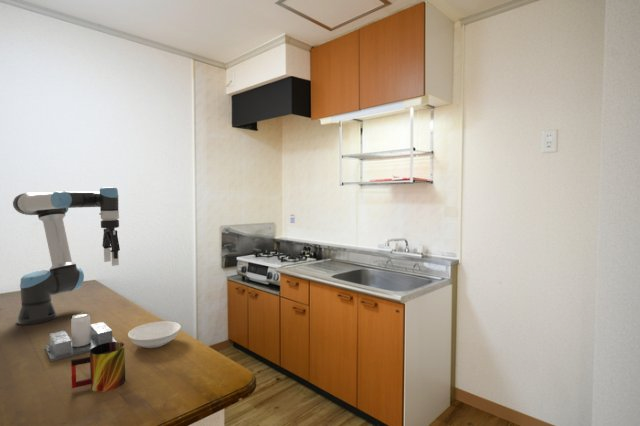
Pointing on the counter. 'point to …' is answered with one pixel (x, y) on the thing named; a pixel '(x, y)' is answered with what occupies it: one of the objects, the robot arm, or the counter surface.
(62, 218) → the robot arm
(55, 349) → the gray metal fixture
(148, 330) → the bowl
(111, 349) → the mug
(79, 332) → the can
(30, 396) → the counter surface
